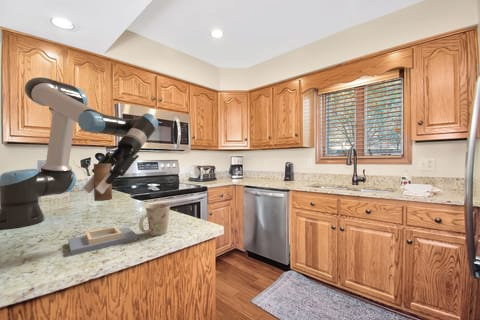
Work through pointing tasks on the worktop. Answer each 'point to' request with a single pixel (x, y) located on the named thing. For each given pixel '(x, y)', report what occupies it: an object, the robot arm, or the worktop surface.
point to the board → (101, 239)
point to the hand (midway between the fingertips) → (92, 190)
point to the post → (99, 175)
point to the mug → (156, 219)
